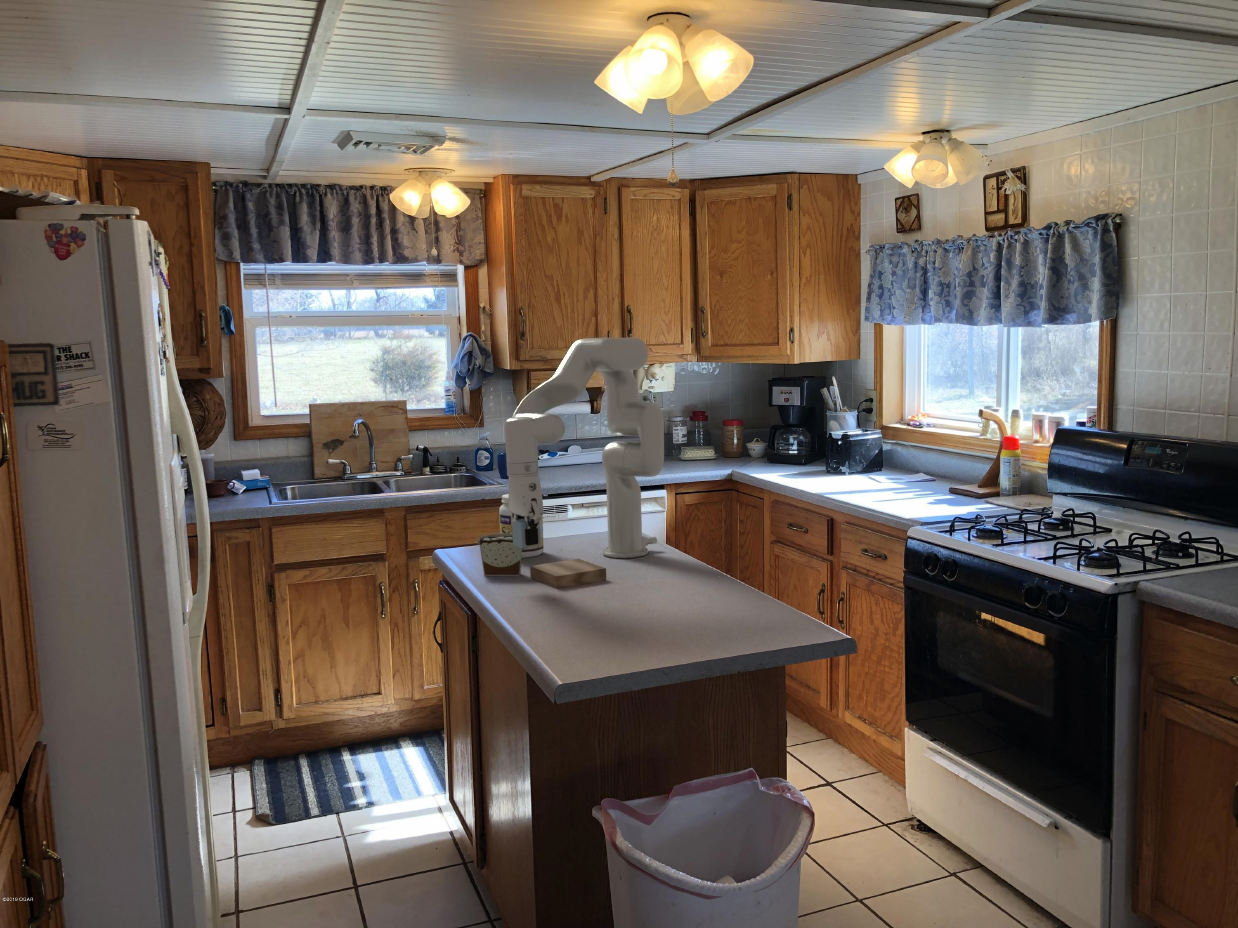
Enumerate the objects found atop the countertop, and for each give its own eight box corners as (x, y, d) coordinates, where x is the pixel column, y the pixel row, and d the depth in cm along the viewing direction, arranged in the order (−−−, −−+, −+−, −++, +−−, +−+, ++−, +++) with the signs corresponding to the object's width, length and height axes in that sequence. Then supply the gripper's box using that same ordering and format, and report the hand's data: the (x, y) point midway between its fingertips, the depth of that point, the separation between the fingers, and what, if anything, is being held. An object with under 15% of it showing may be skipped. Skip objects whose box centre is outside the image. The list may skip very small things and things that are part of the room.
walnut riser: (578, 569, 258) (578, 558, 258) (606, 579, 247) (606, 568, 246) (530, 577, 251) (530, 566, 251) (556, 588, 239) (556, 576, 239)
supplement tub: (493, 558, 276) (491, 498, 274) (511, 549, 287) (508, 491, 285) (534, 559, 272) (532, 499, 270) (550, 550, 284) (548, 492, 282)
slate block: (531, 541, 244) (530, 517, 244) (540, 544, 240) (539, 520, 239) (513, 544, 242) (511, 520, 241) (522, 548, 238) (520, 523, 237)
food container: (530, 570, 260) (528, 532, 258) (525, 575, 254) (524, 537, 252) (484, 570, 261) (482, 532, 260) (478, 575, 255) (476, 537, 254)
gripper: (553, 470, 233) (557, 546, 236) (521, 463, 248) (525, 534, 250) (524, 474, 229) (528, 551, 232) (493, 466, 244) (497, 539, 246)
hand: (526, 541), depth 241 cm, fingers closed on slate block, 5 cm apart
